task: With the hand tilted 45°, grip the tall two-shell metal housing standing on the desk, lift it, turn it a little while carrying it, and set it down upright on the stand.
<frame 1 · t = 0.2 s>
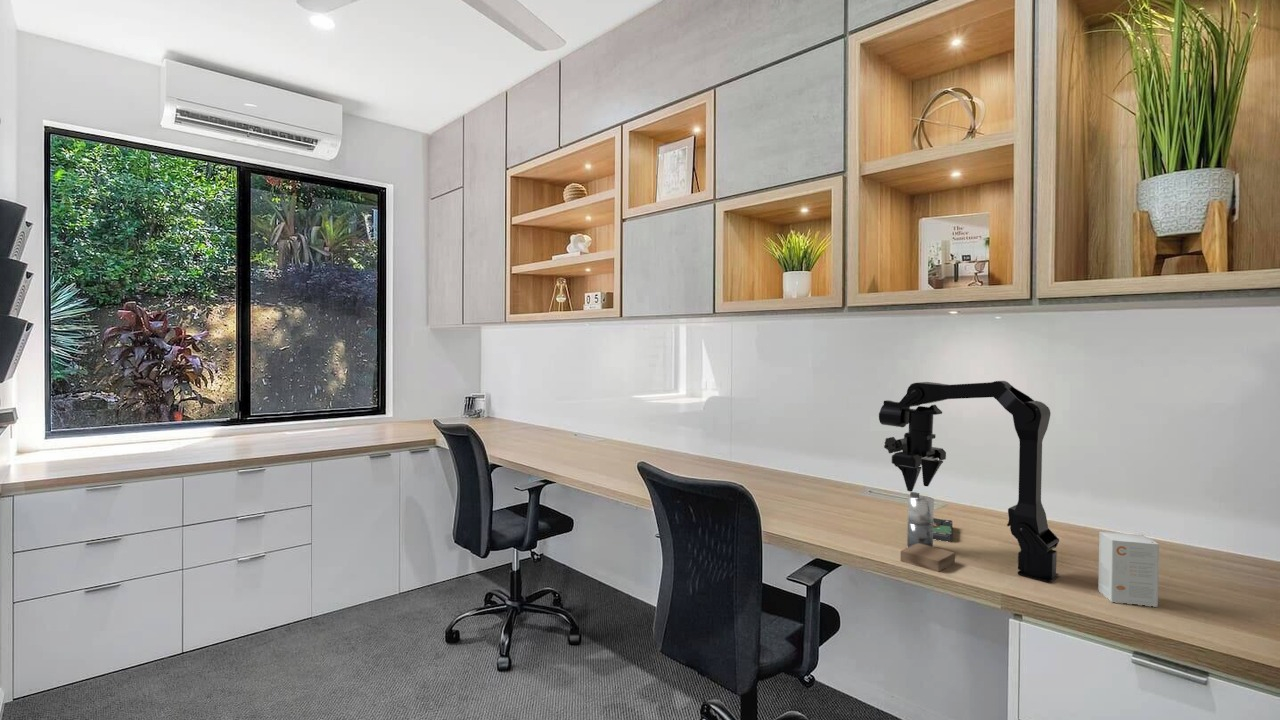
hand: (917, 488, 157), 15 cm above the table, tool pointing down, fingers open, 9 cm apart
small box: (1126, 600, 124), on the table
housing: (919, 547, 155), on the table
stand: (927, 561, 144), on the table
disk drive: (931, 534, 168), on the table
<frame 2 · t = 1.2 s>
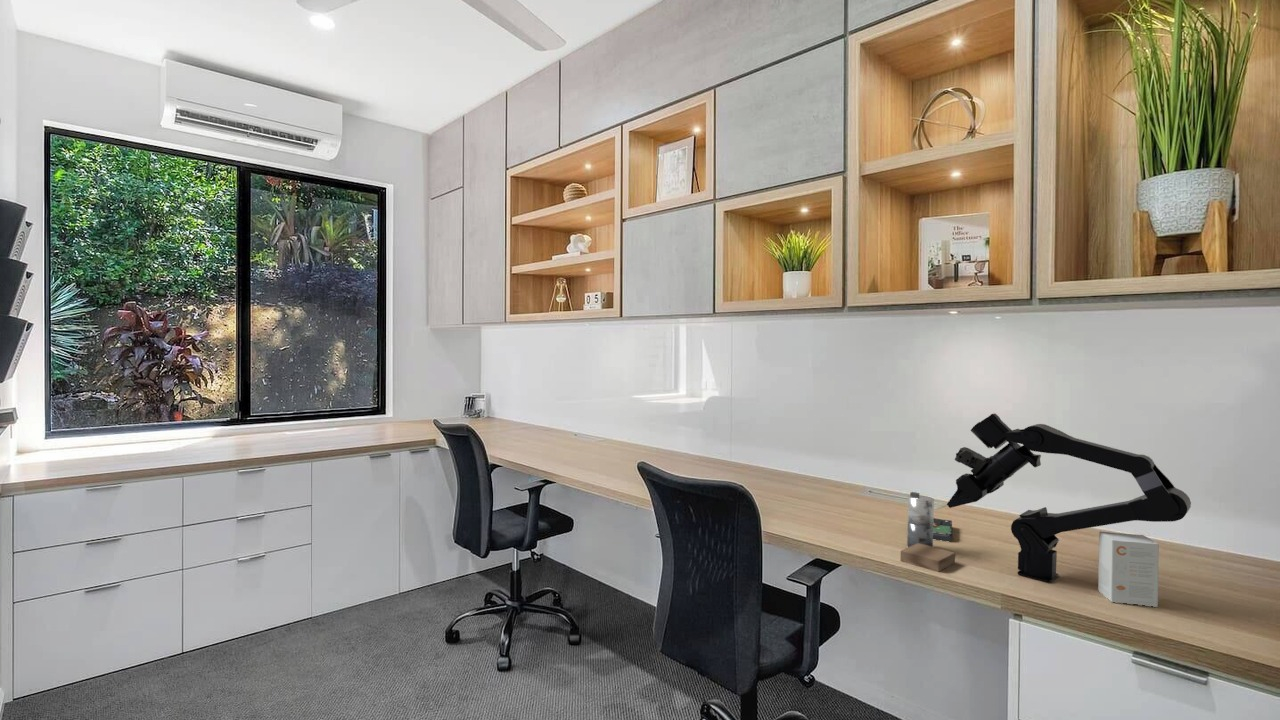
hand: (954, 502, 149), 13 cm above the table, tool tilted 45°, fingers open, 9 cm apart
nothing on the table moved.
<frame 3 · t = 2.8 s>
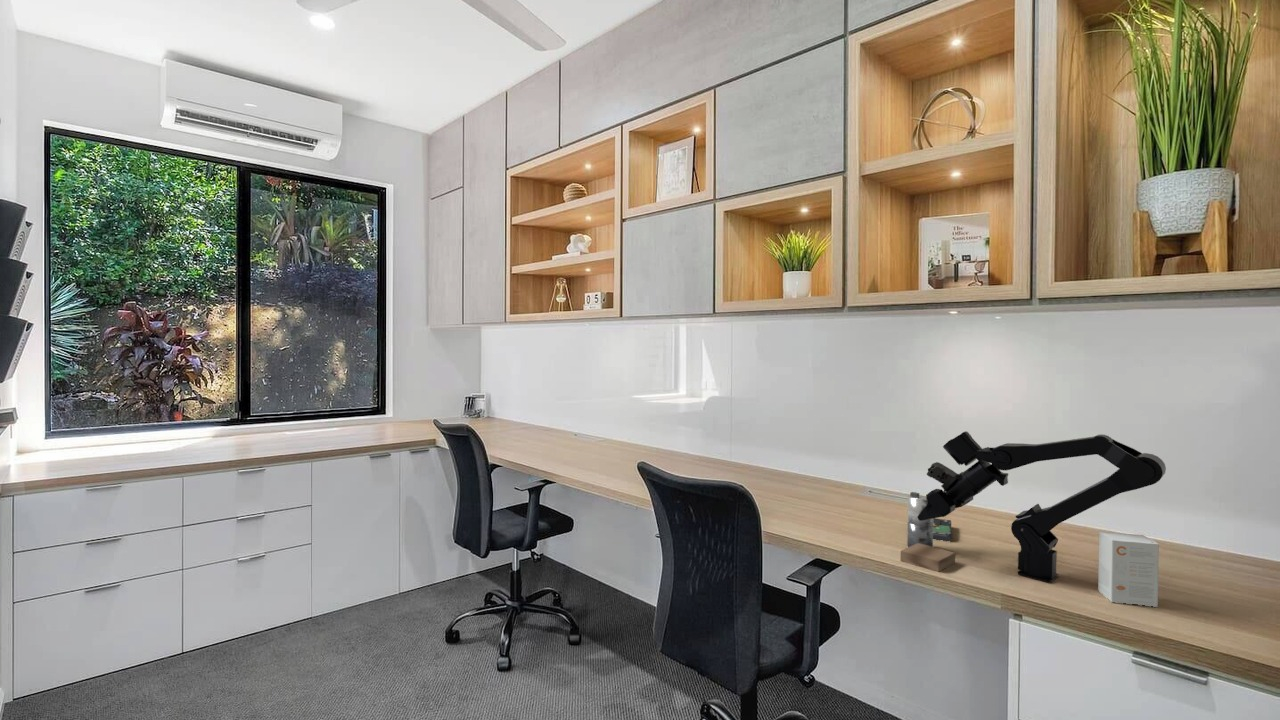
hand: (925, 515, 154), 9 cm above the table, tool tilted 45°, fingers open, 9 cm apart
nothing on the table moved.
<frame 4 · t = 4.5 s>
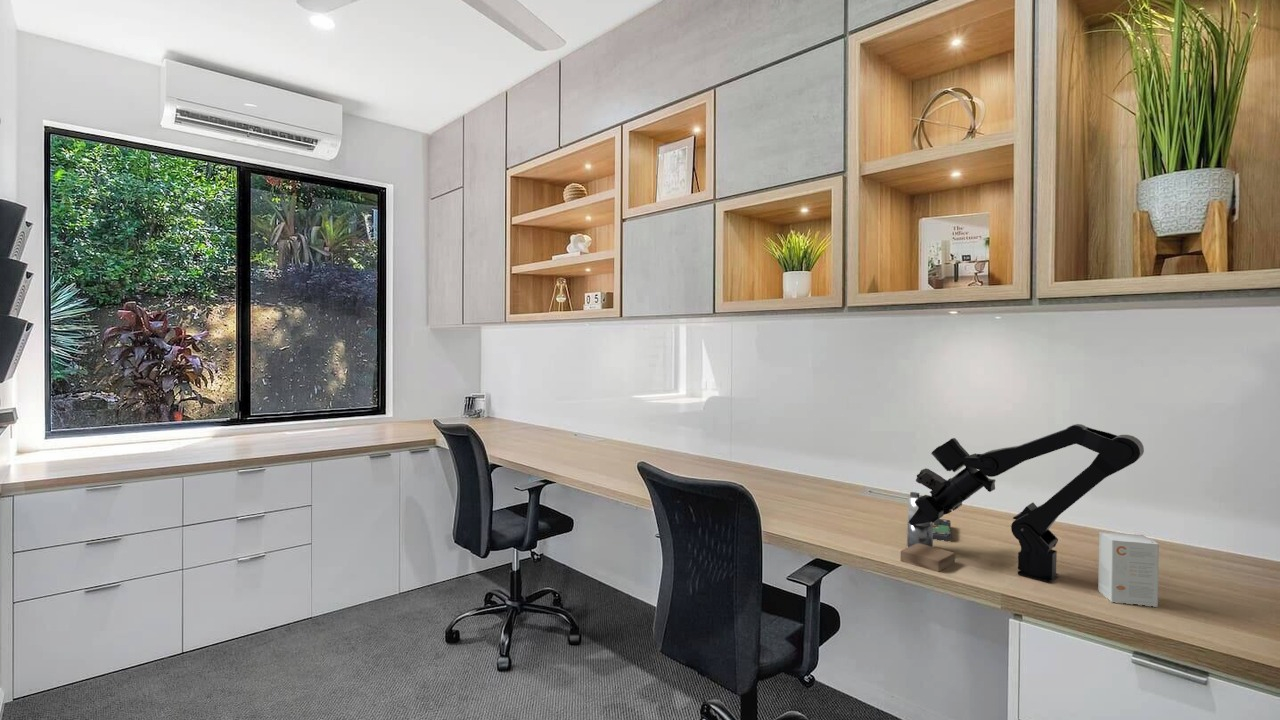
hand: (914, 521, 156), 7 cm above the table, tool tilted 45°, fingers closed on housing, 6 cm apart
housing: (919, 547, 155), on the table, touching gripper
everything else where it was.
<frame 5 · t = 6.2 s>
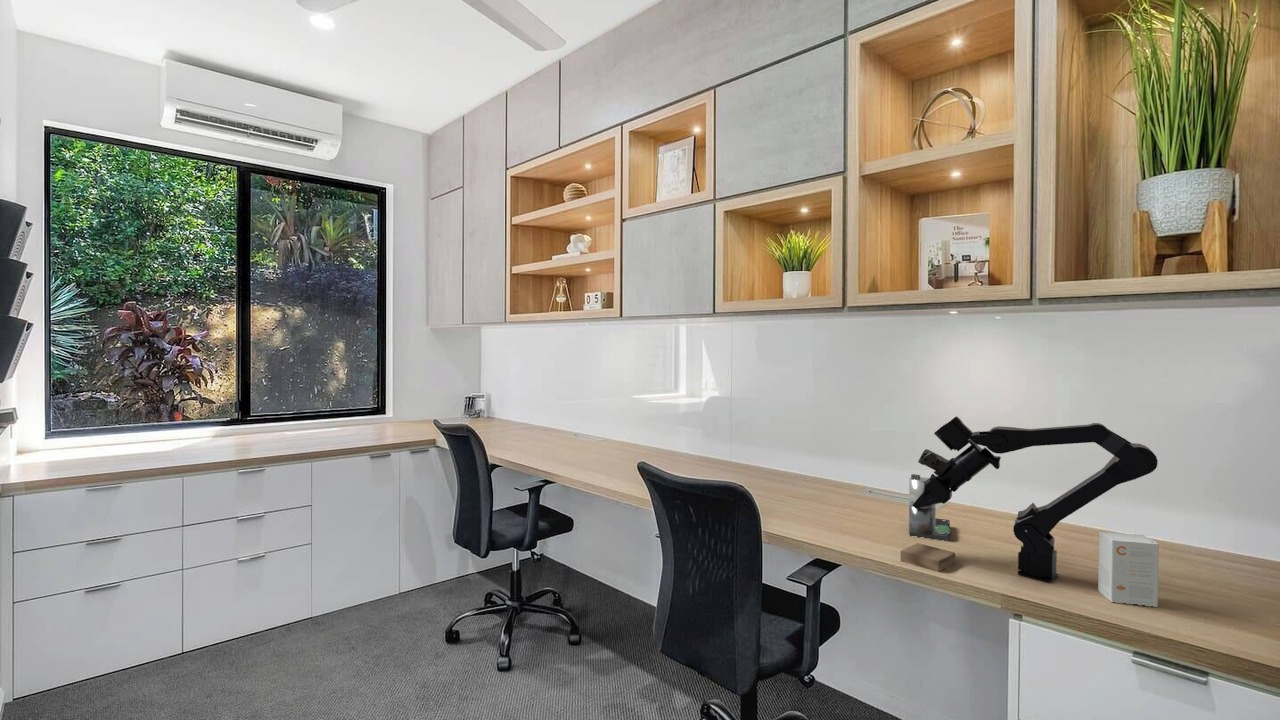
hand: (916, 504, 151), 12 cm above the table, tool tilted 45°, fingers closed on housing, 6 cm apart
housing: (922, 531, 150), point 6 cm above the table, touching gripper
everything else where it was.
when the fingers open (10 cm above the table, at t = 7.9 s): housing drops 1 cm, resting on stand.
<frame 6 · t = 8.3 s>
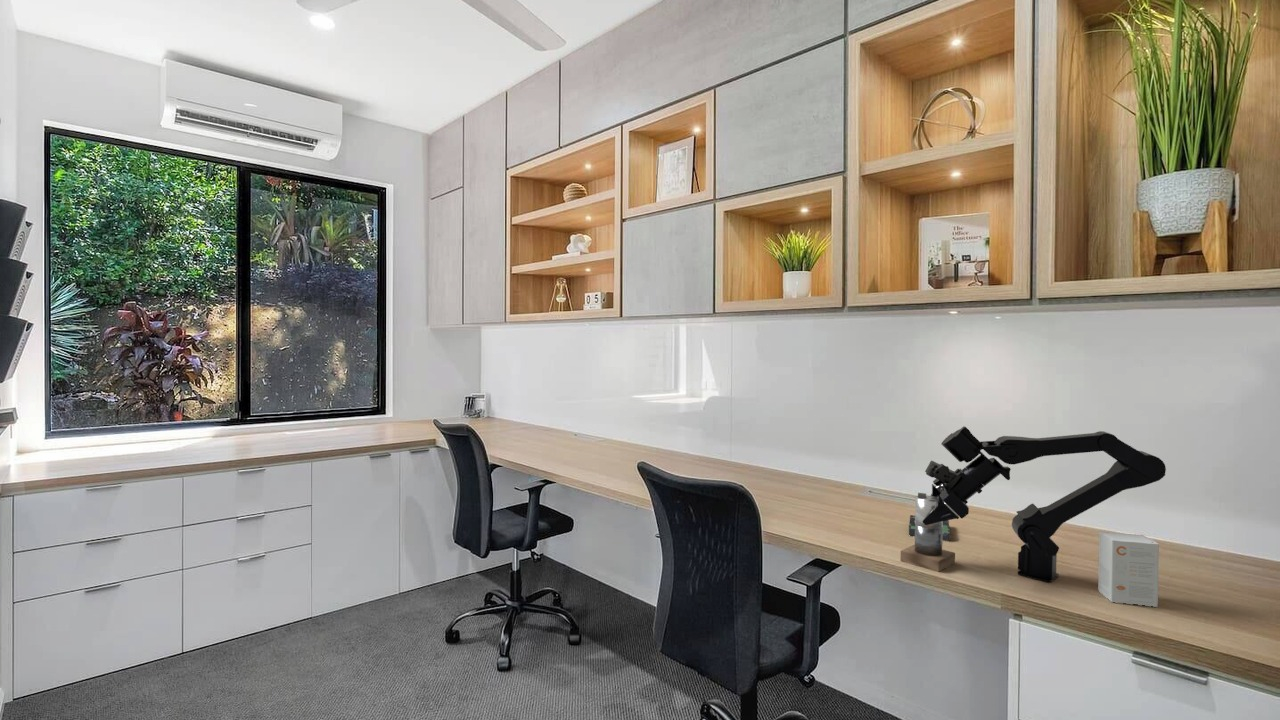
hand: (922, 518, 145), 11 cm above the table, tool tilted 45°, fingers open, 9 cm apart
housing: (928, 551, 144), point 3 cm above the table, touching stand
everything else where it was.
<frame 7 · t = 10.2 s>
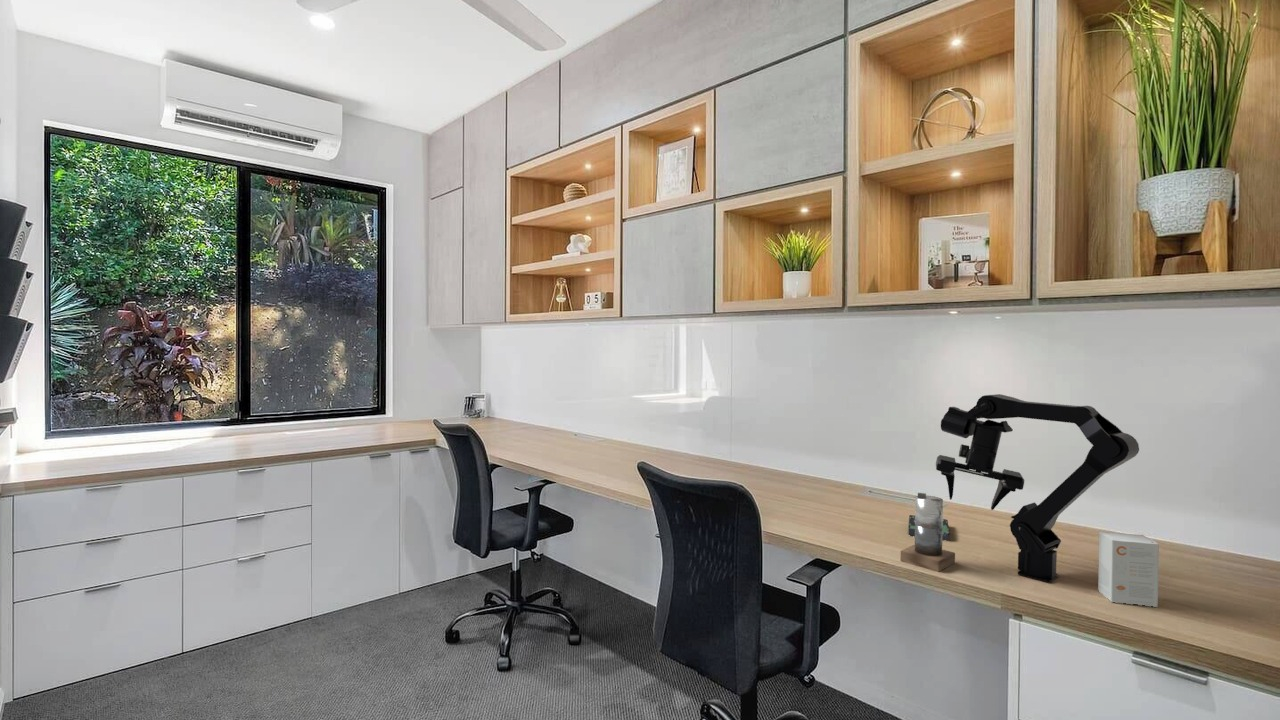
hand: (970, 504, 148), 13 cm above the table, tool pointing down, fingers open, 9 cm apart
nothing on the table moved.
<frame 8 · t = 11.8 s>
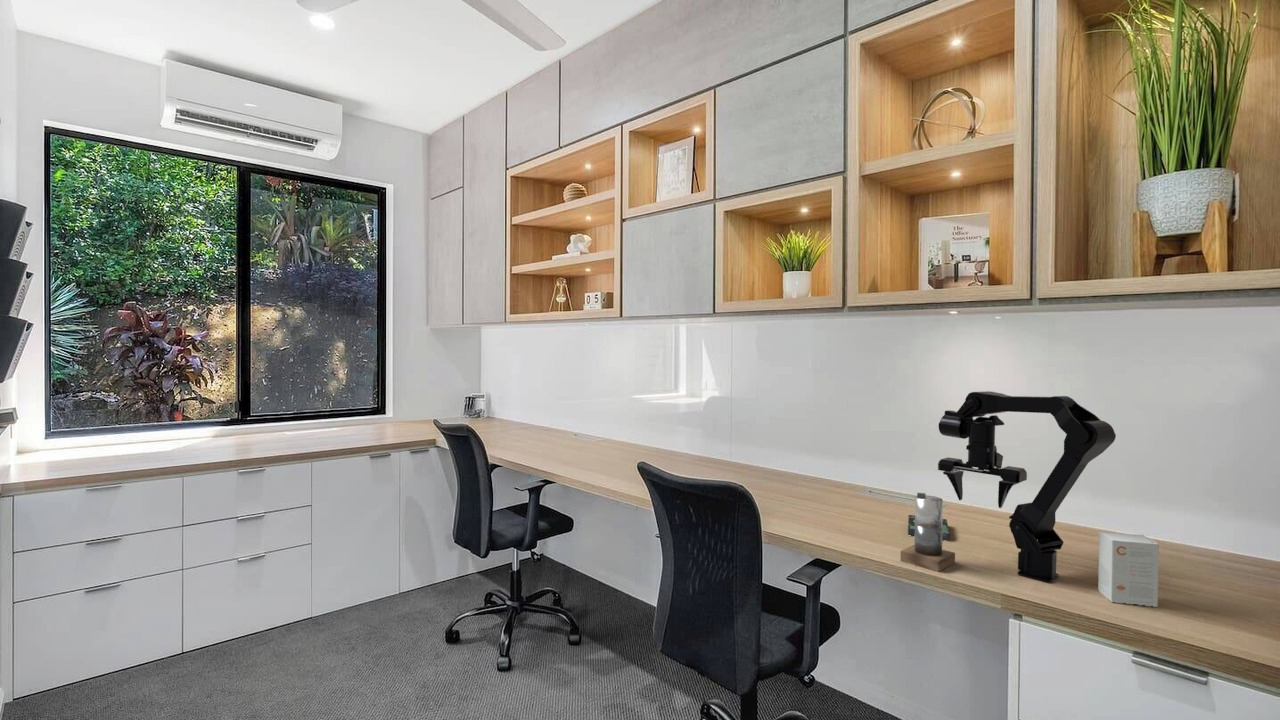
hand: (979, 503, 149), 13 cm above the table, tool pointing down, fingers open, 9 cm apart
at the end: housing 0.1 cm off-centre on the stand, point 2.5 cm above the stand's base; housing tilted 1°; the gripper is holding nothing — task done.
